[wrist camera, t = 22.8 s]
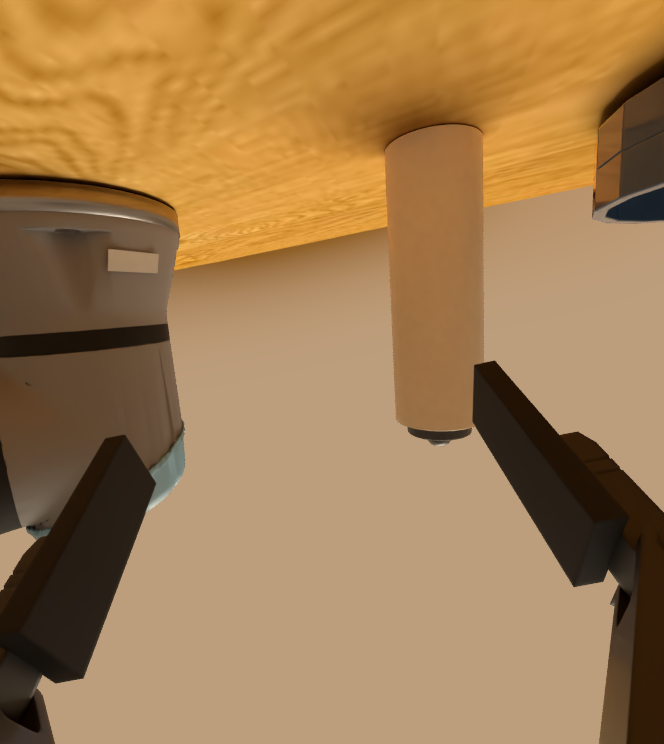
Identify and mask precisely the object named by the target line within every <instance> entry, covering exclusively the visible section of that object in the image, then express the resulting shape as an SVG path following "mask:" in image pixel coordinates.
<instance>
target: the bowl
mask: <svg viewBox="0 0 664 744" xmlns="http://www.w3.org/2000/svg"><path fill="white" fill-rule="evenodd" d="M592 218H593V219H594V220H598V221H602V222H605V223H623V224H639V223H656V222H664V77H663V78H661V79H660V80H658V81H657V82H655V83H654V84H652V85H650V86H649V87H647V88H646V89H644V90H643V91H641V92H639V93H638V94H636V95H635V96H633V97H632V98H630V99H629V100H627V101H626V102H625V103H624V104H623V105H621V106H620V107H619V108H618V109H617V110H616V111H615V112H614V113H613V114H612V115H611V116H610V117H609V118H608V119H607V120H606V121H605V122H604V123H603V124H602V125H601V126H600V127H599V129H598V133H597V138H596V144H595V163H594V189H593V214H592Z"/></svg>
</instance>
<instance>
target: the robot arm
mask: <svg viewBox="0 0 664 744" xmlns="http://www.w3.org/2000/svg"><path fill="white" fill-rule="evenodd" d="M179 238H180V233H179V226H178V218H177V214H176V212H175V211H174V210H173V209H171V208H170V207H168V206H167V205H165V204H163V203H161V202H158V201H156V200H153V199H150V198H147V197H144V196H140V195H137V194H133V193H128V192H124V191H119V190H114V189H109V188H103V187H97V186H90V185H82V184H74V183H65V182H53V181H38V180H0V534H3V533H6V532H9V531H12V530H15V529H18V528H22V527H25V526H26V530H27V532H28V533H29V534H31V535H32V536H33V537H34V538H35V539H36V540H37V541H36V542H35V543H34V544H33V545H32V546H31V547H30V548H29V549H28V550H27V551H26V552H25V553H24V555H23V556H22V558H21V560H20V561H19V562H18V564H17V566H16V567H15V569H14V571H13V575H11V576H10V577H9V579H8V580H7V582H6V583H5V585H4V589H3V590H1V592H0V744H55V742H54V738H53V734H52V730H51V727H50V723H49V719H48V715H47V711H46V707H45V703H44V699H43V695H42V694H41V692H40V691H39V690H38V689H37V686H38V684H39V682H40V679H41V677H42V675H44V676H45V677H47V678H48V679H50V680H51V681H53V682H54V683H61V682H66V681H71V680H77V679H82V678H84V675H85V672H86V670H87V667H88V664H89V662H90V659H91V657H92V654H93V651H94V649H95V646H96V643H97V641H98V638H99V635H100V633H101V630H102V627H103V625H104V622H105V619H106V617H107V614H108V611H109V609H110V606H111V603H112V601H113V598H114V595H115V593H116V590H117V587H118V585H119V582H120V579H121V577H122V574H123V571H124V569H125V566H126V563H127V561H128V558H129V556H130V553H131V550H132V548H133V545H134V542H135V540H136V537H137V534H138V532H139V529H140V526H141V524H142V521H143V518H144V516H145V513H146V512H147V511H148V510H150V509H152V508H153V507H154V506H156V505H157V504H158V503H160V502H161V501H162V500H163V499H164V498H165V497H166V496H167V495H169V494H170V492H171V491H172V489H173V488H174V487H175V486H176V484H177V483H178V482H179V480H180V479H181V477H182V474H183V471H184V468H185V454H184V443H183V436H184V431H185V428H184V422H183V420H182V419H181V413H180V407H179V399H178V393H177V385H176V379H175V372H174V365H173V358H172V351H171V344H170V338H169V331H168V324H167V315H166V314H167V313H166V312H167V310H166V309H167V303H168V298H169V293H170V288H171V283H172V278H173V272H174V266H175V259H176V252H177V250H178V247H179ZM472 422H473V424H474V425H475V427H476V428H477V430H478V432H479V433H480V435H481V437H482V438H483V440H484V441H485V443H486V445H487V446H488V448H489V450H490V451H491V453H492V454H493V456H494V458H495V459H496V461H497V462H498V464H499V466H500V468H501V469H502V471H503V472H504V474H505V476H506V477H507V479H508V481H509V482H510V484H511V485H512V487H513V489H514V490H515V492H516V494H517V495H518V497H519V499H520V500H521V502H522V503H523V505H524V506H525V508H526V510H527V512H528V513H529V515H530V516H531V518H532V520H533V521H534V523H535V524H536V526H537V528H538V530H539V531H540V533H541V534H542V536H543V538H544V539H545V541H546V543H547V544H548V546H549V547H550V549H551V550H552V552H553V554H554V556H555V557H556V559H557V560H558V562H559V564H560V565H561V567H562V568H563V570H564V572H565V574H566V575H567V577H568V578H569V580H570V582H571V583H572V585H573V587H577V586H582V585H587V584H593V583H598V582H603V581H604V578H605V576H606V573H607V571H608V569H609V571H610V572H611V573H612V575H613V576H614V578H615V579H616V581H617V582H618V583H619V585H618V587H617V589H616V592H615V594H614V596H613V598H612V601H611V603H610V605H613V606H615V608H614V616H613V625H612V634H611V643H610V652H609V660H608V669H607V678H606V686H605V695H604V705H603V713H602V722H601V731H600V739H599V744H664V512H663V511H662V510H661V509H659V507H658V506H657V505H656V504H655V503H654V502H653V501H652V500H651V499H650V498H649V497H648V496H647V495H646V494H645V493H644V492H643V491H642V490H641V488H640V487H639V486H637V485H636V483H635V482H634V481H633V480H632V479H631V478H630V477H629V476H628V475H627V474H626V473H625V472H624V471H623V470H621V469H620V467H619V466H618V465H617V464H616V463H615V461H614V460H613V459H610V458H609V455H608V454H607V453H606V452H605V451H604V450H603V449H602V448H601V447H600V446H599V445H598V444H597V443H596V442H595V441H593V440H591V439H590V438H588V437H586V436H584V435H583V434H581V433H579V432H573V433H568V434H563V435H559V434H558V433H557V432H556V431H555V429H554V428H553V427H552V426H551V425H550V424H549V423H548V421H547V420H546V419H545V418H544V417H543V416H542V414H541V413H539V411H538V410H537V409H536V408H535V406H534V405H533V404H532V403H531V402H530V401H529V400H528V398H527V397H526V396H525V395H524V394H523V393H522V391H521V390H520V389H519V388H518V387H517V386H516V385H515V383H514V382H513V381H512V380H511V379H510V378H509V376H507V374H506V373H505V372H504V371H503V370H502V368H501V367H500V366H499V365H498V364H497V363H496V361H491V362H485V363H480V364H475V365H474V380H473V414H472Z"/></svg>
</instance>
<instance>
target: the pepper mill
mask: <svg viewBox="0 0 664 744" xmlns="http://www.w3.org/2000/svg"><path fill="white" fill-rule="evenodd" d="M385 174H386V197H387V220H388V243H389V266H390V289H391V313H392V336H393V359H394V381H395V405H396V419H397V421H398V422H399V423H400V424H402V425H404V426H407V427H408V432H409V433H410V434H411V435H413V436H415V437H418V438H422V439H428V441H429V442H430V443H431V444H433V445H435V446H445V445H447V444H448V443H449V442H450V441H451V440H456V439H460V438H464V437H466V436H468V435H470V433H471V431H472V430H471V429H472V427H475V425H474V424H473V422H472V414H473V380H474V365H475V364H480V363H484V320H483V319H484V309H483V308H484V307H483V306H484V301H483V300H484V299H483V298H484V295H483V294H484V291H483V135H482V133H481V131H480V130H479V129H477V128H475V127H472V126H468V125H459V124H448V125H438V126H432V127H427V128H423V129H419V130H416V131H413V132H410V133H407V134H405V135H403V136H401V137H399V138H397V139H396V140H394V141H393V142H391V143H390V144H389V145H388V146H387V148H386V150H385Z"/></svg>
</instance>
